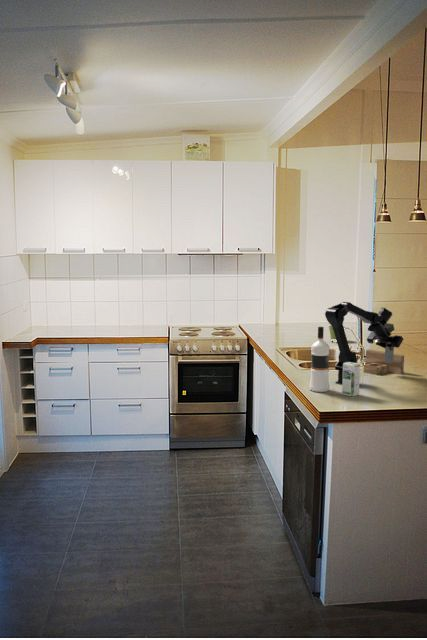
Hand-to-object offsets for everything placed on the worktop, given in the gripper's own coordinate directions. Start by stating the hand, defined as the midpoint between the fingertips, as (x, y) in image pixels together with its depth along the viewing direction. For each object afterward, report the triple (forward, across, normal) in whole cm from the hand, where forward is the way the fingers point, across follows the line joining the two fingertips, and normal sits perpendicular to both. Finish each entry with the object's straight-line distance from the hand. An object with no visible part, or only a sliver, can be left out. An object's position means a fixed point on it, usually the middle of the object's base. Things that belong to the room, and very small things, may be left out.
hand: (390, 349), depth 283 cm
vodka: (-28, +1, +48) cm, 56 cm away
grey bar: (+4, 0, +6) cm, 7 cm away
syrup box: (-25, -13, +44) cm, 53 cm away
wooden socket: (+10, +8, +9) cm, 15 cm away
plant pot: (+51, +85, -33) cm, 104 cm away
